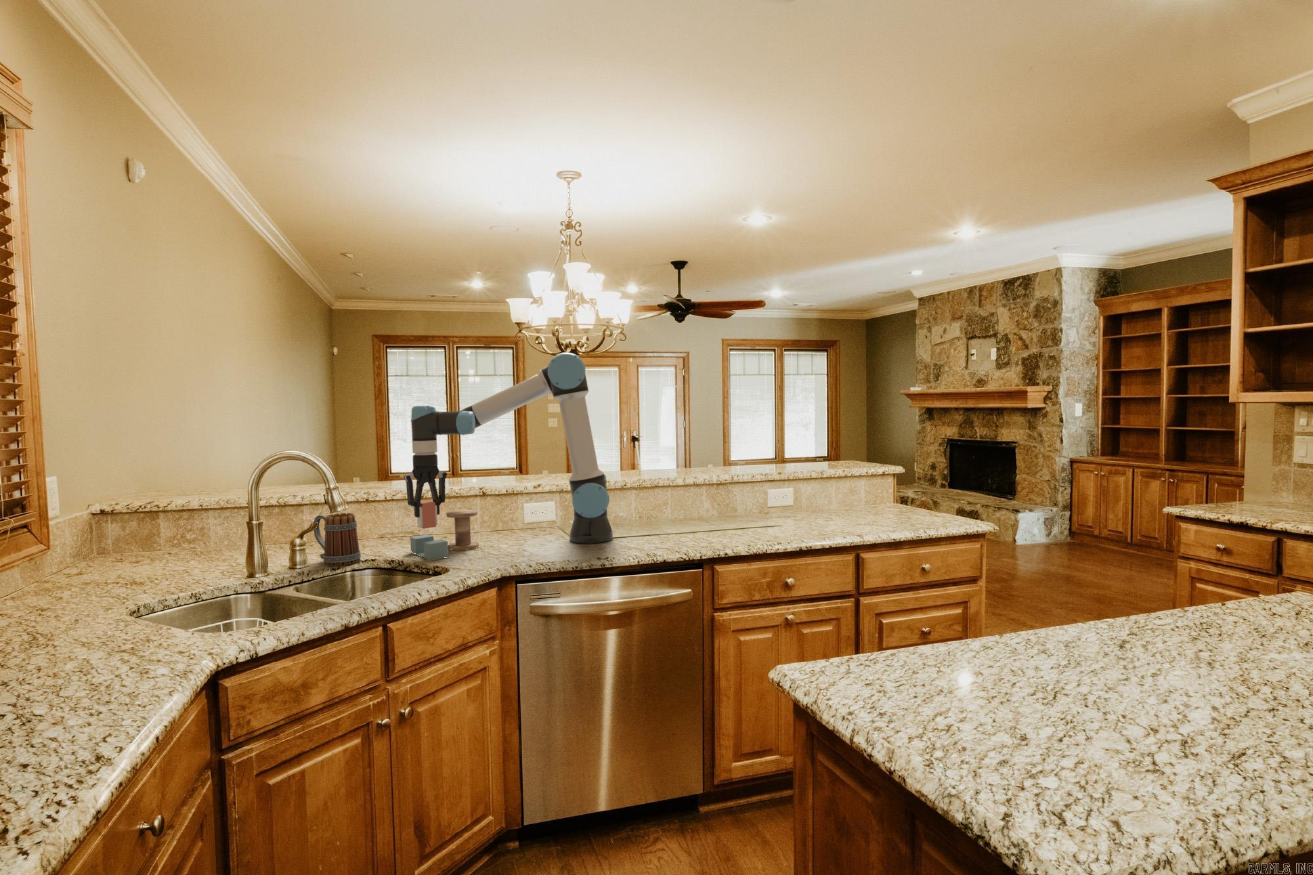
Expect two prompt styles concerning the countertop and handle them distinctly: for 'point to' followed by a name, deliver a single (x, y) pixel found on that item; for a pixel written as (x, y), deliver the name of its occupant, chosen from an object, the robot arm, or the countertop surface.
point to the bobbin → (462, 530)
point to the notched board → (429, 547)
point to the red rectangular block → (428, 514)
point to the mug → (338, 539)
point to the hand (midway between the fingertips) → (427, 525)
